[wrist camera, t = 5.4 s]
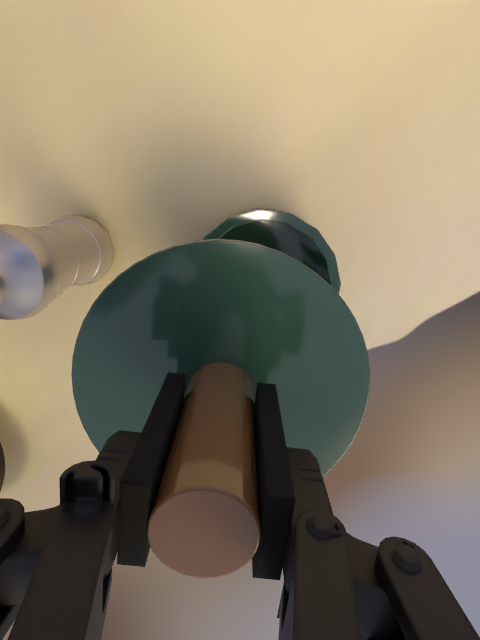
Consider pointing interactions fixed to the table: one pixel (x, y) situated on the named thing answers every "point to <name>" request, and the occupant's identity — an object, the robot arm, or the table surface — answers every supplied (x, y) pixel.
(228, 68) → the table surface
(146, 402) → the crock lid
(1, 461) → the wooden sphere
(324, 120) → the table surface
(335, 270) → the crock
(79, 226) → the silver metal flask
